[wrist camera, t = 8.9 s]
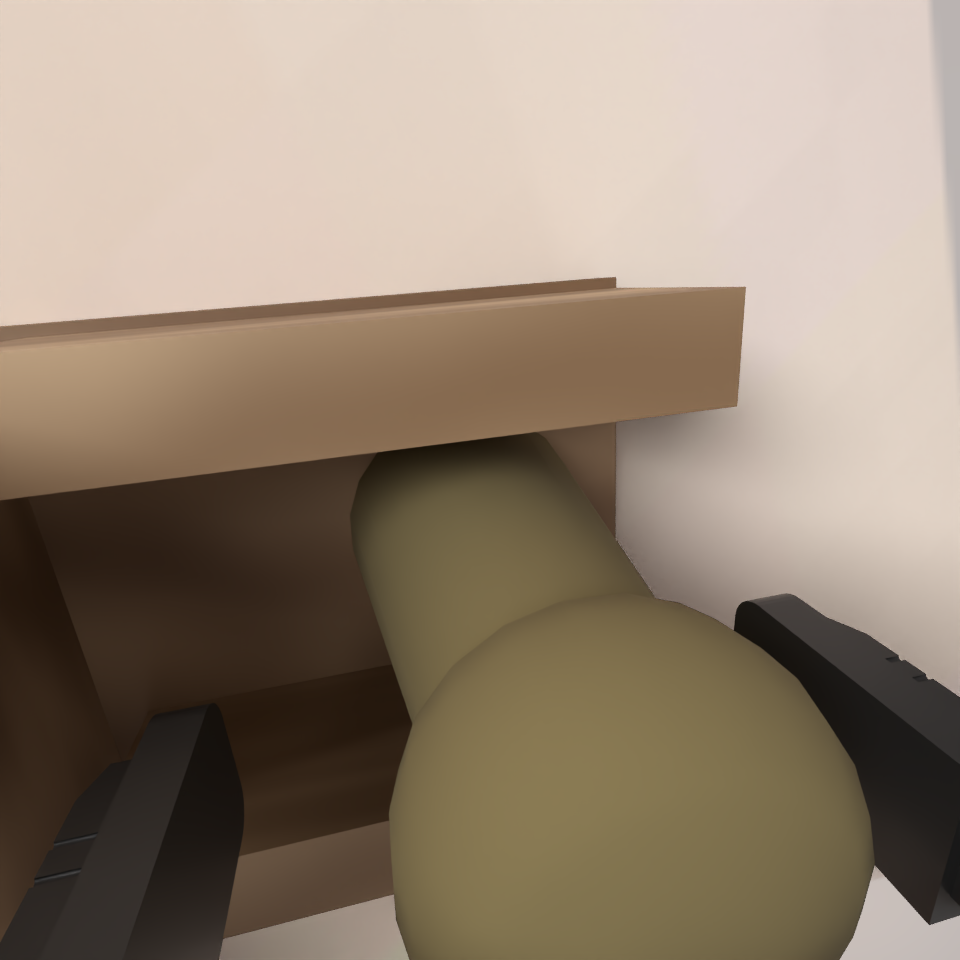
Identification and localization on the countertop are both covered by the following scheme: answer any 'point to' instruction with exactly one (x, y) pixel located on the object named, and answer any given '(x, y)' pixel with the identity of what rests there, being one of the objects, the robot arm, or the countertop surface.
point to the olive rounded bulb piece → (589, 737)
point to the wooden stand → (276, 536)
